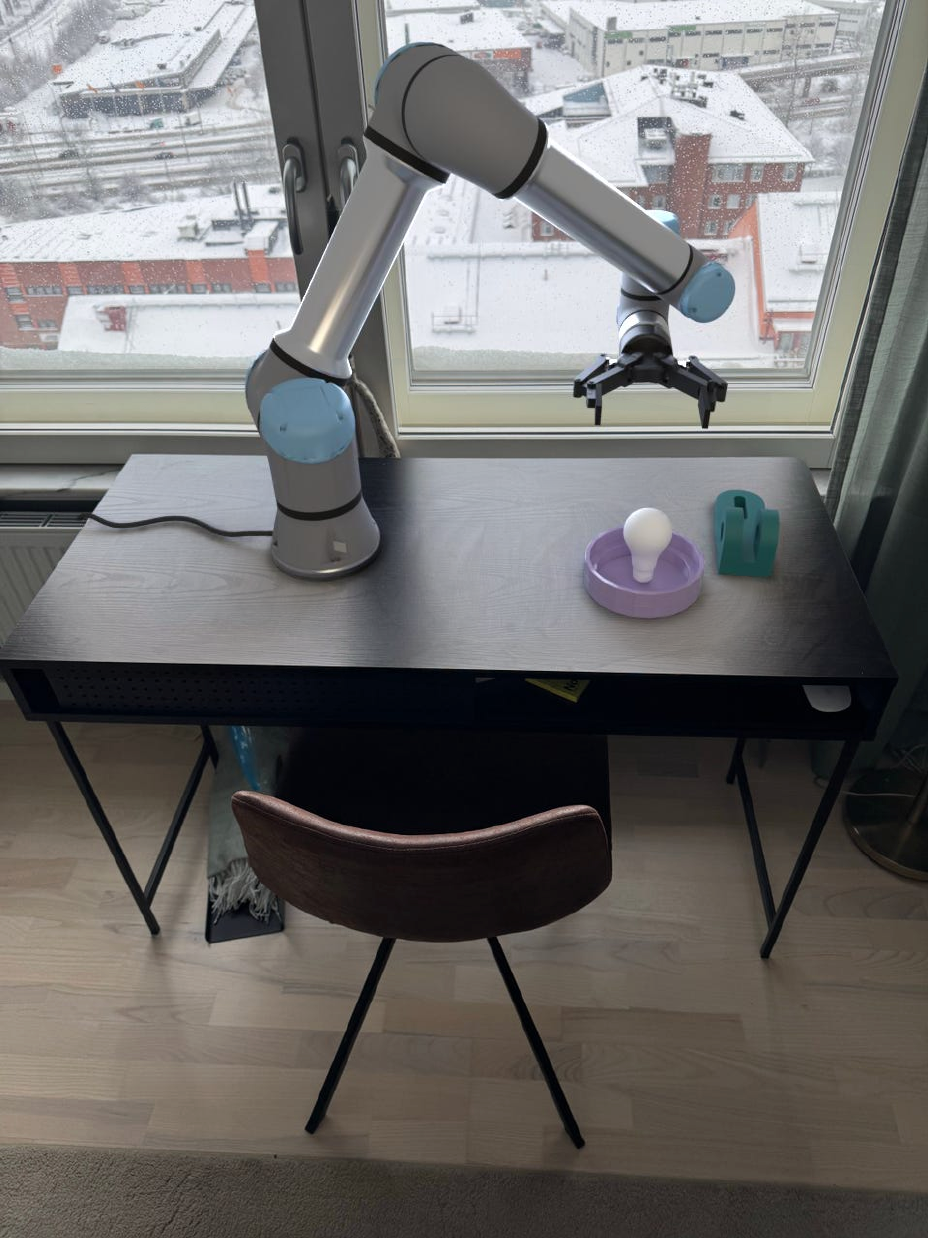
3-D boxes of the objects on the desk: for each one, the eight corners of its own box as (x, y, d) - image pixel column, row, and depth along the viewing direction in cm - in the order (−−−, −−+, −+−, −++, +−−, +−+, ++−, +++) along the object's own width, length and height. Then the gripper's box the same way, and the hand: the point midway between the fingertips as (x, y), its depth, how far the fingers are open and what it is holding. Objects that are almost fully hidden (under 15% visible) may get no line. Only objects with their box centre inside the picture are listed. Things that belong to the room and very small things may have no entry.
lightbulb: (632, 562, 127) (639, 493, 120) (673, 577, 124) (683, 507, 117) (610, 585, 123) (616, 515, 116) (652, 601, 120) (661, 530, 113)
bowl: (566, 603, 121) (568, 575, 118) (606, 541, 132) (608, 514, 129) (681, 634, 116) (685, 606, 113) (712, 567, 126) (717, 540, 123)
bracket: (770, 577, 124) (781, 528, 119) (718, 573, 125) (727, 525, 120) (760, 504, 138) (769, 457, 133) (713, 501, 139) (721, 454, 134)
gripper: (728, 374, 136) (747, 446, 120) (557, 370, 138) (552, 440, 122) (737, 324, 131) (757, 392, 115) (559, 321, 134) (555, 387, 117)
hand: (652, 417), depth 119 cm, fingers open, 13 cm apart
